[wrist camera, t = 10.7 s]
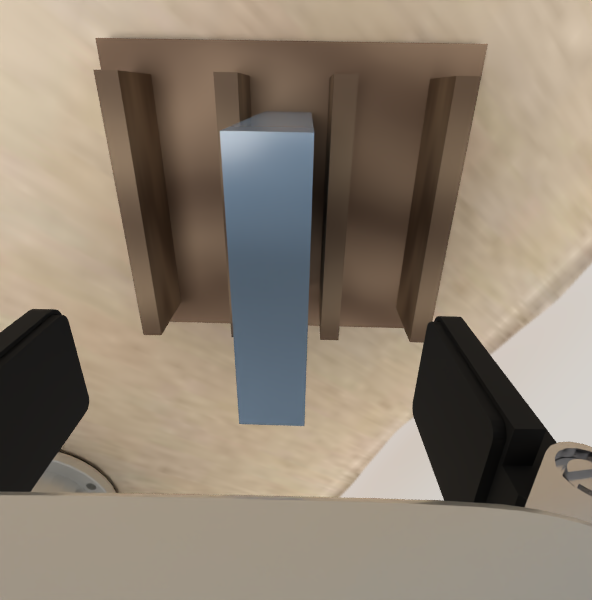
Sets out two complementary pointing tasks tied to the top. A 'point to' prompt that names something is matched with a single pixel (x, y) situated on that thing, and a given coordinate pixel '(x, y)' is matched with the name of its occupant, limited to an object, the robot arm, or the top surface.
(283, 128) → the tile
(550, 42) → the top surface
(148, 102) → the rack
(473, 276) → the top surface
